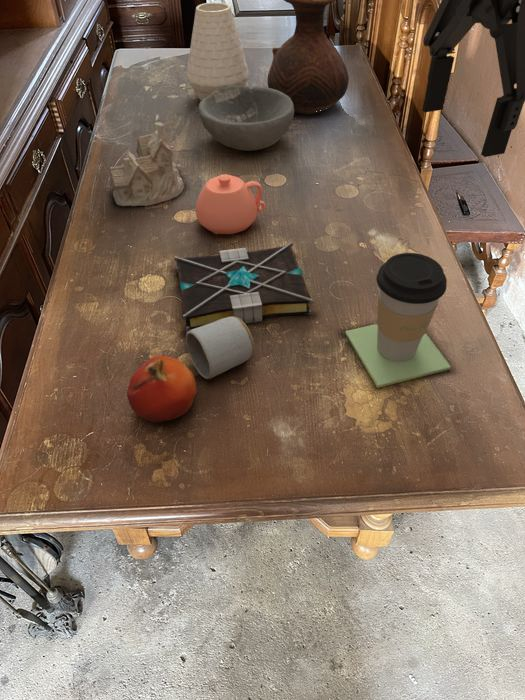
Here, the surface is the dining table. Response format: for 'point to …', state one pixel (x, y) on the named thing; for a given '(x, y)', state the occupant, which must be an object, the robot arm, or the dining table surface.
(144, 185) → the ceramic cottage
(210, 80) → the vase
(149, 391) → the tomato
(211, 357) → the ceramic mug
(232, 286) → the book
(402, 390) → the dining table surface
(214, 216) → the sugar bowl
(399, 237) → the dining table surface
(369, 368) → the sage mat
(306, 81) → the jug
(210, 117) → the bowl
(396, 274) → the coffee cup
